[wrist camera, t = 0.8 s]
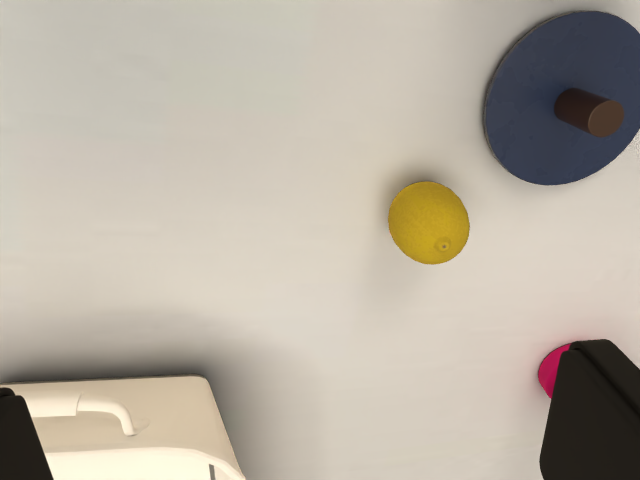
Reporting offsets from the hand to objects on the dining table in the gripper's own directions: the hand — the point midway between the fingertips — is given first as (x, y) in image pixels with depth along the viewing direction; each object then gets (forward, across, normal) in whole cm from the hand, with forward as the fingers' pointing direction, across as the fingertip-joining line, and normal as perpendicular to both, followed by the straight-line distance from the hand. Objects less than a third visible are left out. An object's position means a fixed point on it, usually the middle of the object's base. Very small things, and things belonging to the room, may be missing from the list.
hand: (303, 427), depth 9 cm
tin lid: (+30, -21, +1) cm, 36 cm away
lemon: (+31, -10, +8) cm, 33 cm away
